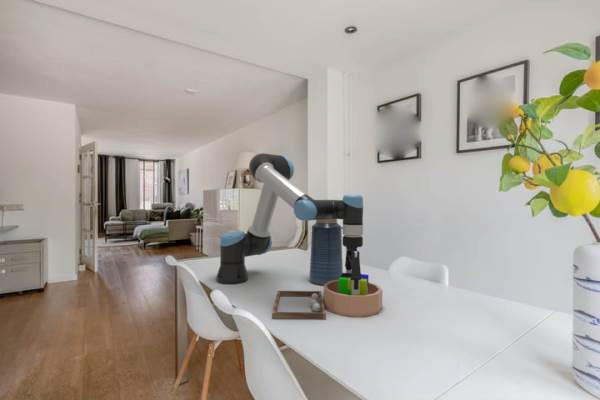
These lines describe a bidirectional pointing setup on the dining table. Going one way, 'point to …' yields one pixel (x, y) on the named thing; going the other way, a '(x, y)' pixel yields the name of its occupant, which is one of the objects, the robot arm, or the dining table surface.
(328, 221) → the blue thread spool
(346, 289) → the puzzle toy
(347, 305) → the bowl
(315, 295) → the pebble
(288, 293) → the tray
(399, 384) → the dining table surface
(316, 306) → the pebble
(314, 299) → the pebble
